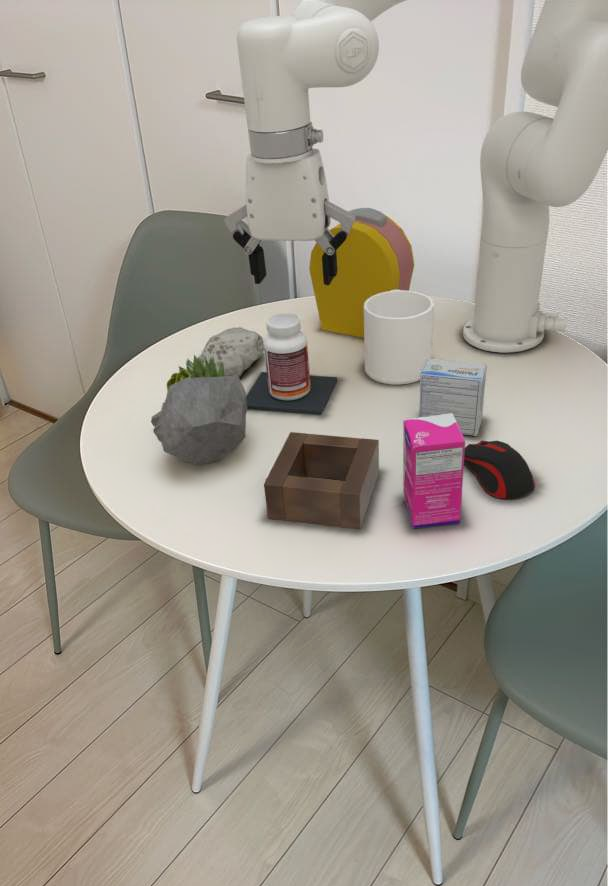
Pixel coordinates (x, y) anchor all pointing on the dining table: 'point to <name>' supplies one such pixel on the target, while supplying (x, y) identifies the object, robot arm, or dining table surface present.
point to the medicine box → (454, 392)
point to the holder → (323, 480)
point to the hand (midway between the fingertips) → (294, 280)
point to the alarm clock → (361, 270)
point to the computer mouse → (499, 469)
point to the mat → (307, 404)
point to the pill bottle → (286, 358)
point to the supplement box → (433, 470)
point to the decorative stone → (234, 350)
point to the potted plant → (202, 413)
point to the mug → (397, 336)
